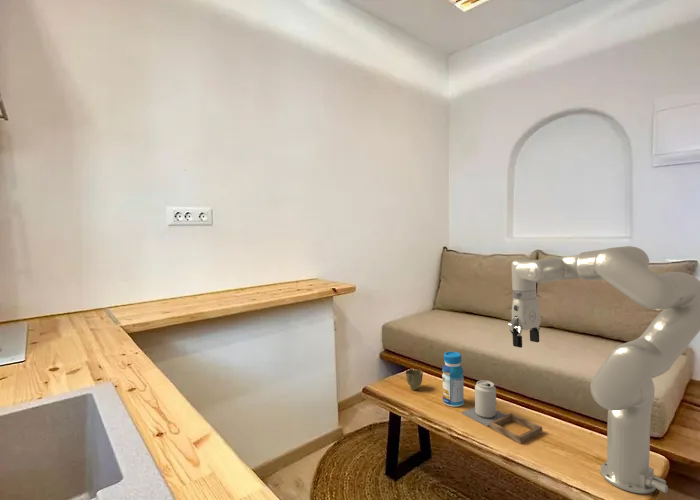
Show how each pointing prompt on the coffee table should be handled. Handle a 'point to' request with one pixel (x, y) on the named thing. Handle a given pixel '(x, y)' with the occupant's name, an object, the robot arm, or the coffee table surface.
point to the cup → (414, 378)
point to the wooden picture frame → (520, 439)
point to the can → (485, 399)
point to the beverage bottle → (453, 380)
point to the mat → (484, 421)
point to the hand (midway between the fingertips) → (526, 344)
